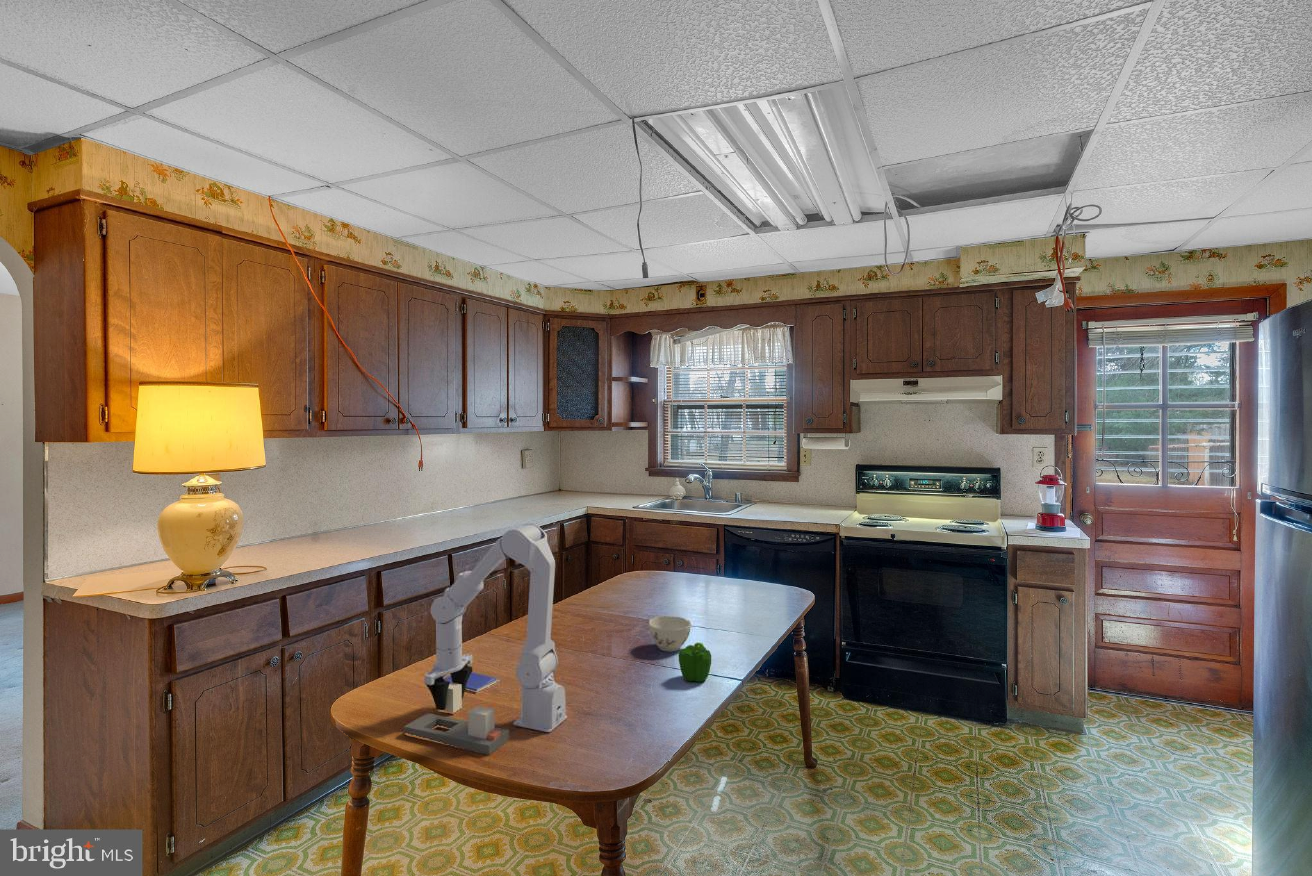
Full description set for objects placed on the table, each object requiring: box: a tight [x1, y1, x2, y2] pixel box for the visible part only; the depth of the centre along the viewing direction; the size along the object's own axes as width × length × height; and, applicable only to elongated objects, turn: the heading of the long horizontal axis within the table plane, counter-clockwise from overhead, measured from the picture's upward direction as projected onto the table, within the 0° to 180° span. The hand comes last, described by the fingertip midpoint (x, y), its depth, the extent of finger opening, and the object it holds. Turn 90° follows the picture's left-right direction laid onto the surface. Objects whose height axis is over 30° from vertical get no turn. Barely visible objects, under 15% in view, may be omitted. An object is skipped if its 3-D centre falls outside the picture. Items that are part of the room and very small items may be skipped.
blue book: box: [443, 671, 500, 692], centre depth 170 cm, size 2×8×12 cm
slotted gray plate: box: [403, 705, 510, 756], centre depth 141 cm, size 22×7×7 cm, turn 68°
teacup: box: [648, 615, 692, 653], centre depth 196 cm, size 15×12×8 cm
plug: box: [445, 682, 463, 713], centre depth 154 cm, size 4×3×6 cm
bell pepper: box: [678, 641, 712, 683], centre depth 172 cm, size 8×8×10 cm
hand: (449, 703), depth 154 cm, fingers open, 6 cm apart
